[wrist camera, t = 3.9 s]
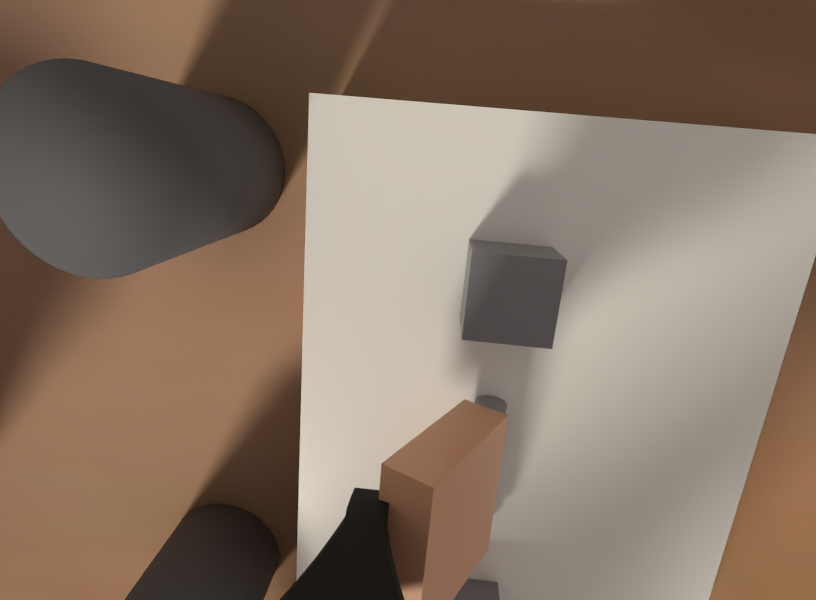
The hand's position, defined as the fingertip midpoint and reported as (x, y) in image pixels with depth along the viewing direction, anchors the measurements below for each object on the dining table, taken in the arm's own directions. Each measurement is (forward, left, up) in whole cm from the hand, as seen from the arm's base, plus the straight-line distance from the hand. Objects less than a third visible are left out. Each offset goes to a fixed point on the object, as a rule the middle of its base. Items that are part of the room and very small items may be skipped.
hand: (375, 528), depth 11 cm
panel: (-2, -2, -6) cm, 7 cm away
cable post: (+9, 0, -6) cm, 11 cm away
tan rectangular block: (-2, -2, -3) cm, 4 cm away
